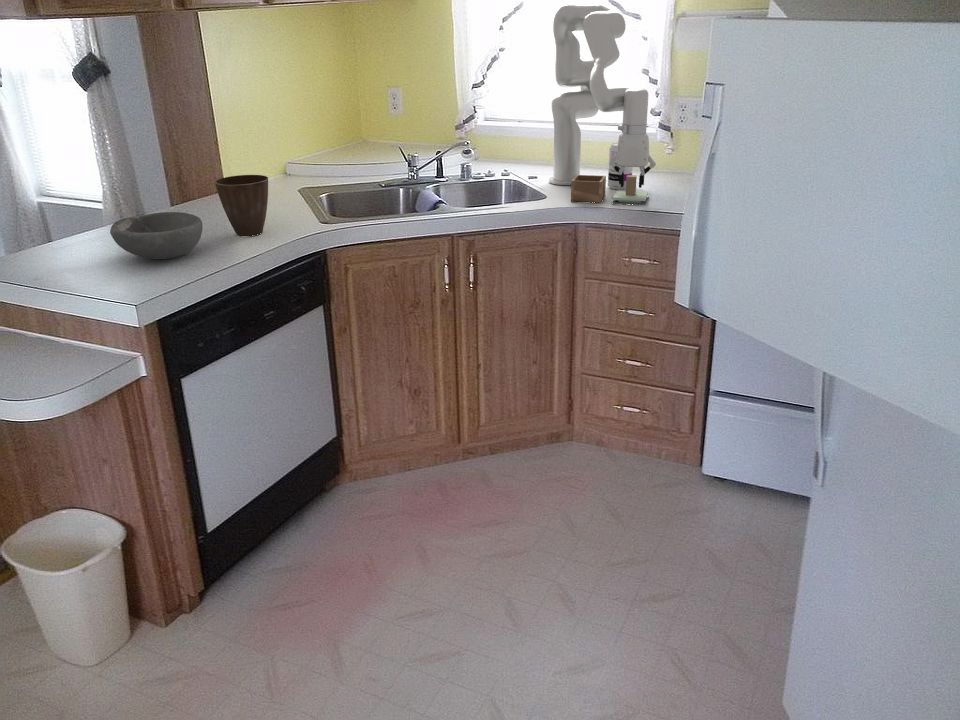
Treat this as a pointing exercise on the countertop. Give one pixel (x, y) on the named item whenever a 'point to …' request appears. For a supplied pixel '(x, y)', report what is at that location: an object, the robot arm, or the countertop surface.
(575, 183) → the tea box
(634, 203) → the coaster
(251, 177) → the plant pot
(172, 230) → the bowl
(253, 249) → the countertop surface
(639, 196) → the lid
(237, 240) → the countertop surface
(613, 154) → the supplement can
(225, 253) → the countertop surface
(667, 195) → the countertop surface
